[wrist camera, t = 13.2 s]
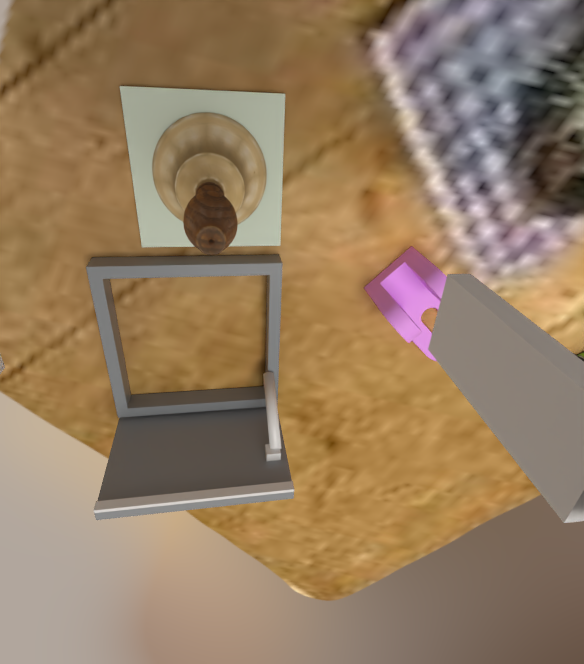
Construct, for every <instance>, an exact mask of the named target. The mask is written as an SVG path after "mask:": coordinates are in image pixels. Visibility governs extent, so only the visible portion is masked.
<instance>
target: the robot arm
mask: <svg viewBox="0 0 584 664" xmlns="http://www.w3.org/2000/svg"><path fill="white" fill-rule="evenodd" d="M428 350H429V351H430V353H431V354H432V355H433V356H434V358H435V359H436V360H437V361H438V363H439V364H440V365H441V367H442V368H443V369H444V370H445V372H446V373H447V374H448V376H449V377H450V378H451V379H452V381H453V382H454V383H455V384H456V386H457V387H458V388H459V390H460V391H461V392H462V393H463V395H464V396H465V397H466V399H467V400H468V401H469V402H470V404H471V405H472V406H473V407H474V409H475V410H476V411H477V413H478V414H479V415H480V416H481V418H482V419H483V420H484V422H485V423H486V424H487V425H488V427H489V428H490V429H491V430H492V432H493V433H494V434H495V436H496V437H497V438H498V439H499V441H500V442H501V443H502V445H503V446H504V447H505V448H506V450H507V451H508V452H509V453H510V455H511V456H512V457H513V459H514V460H515V461H516V462H517V464H518V465H519V466H520V468H521V469H522V470H523V471H524V473H525V474H526V475H527V476H528V478H529V479H530V480H531V482H532V483H533V484H534V485H535V487H536V488H537V489H538V491H539V492H540V493H541V494H542V495H543V497H544V498H545V499H546V501H547V502H548V503H549V505H550V506H551V507H552V508H553V509H554V511H555V512H556V514H557V515H558V516H559V517H560V519H561V520H562V521H563V522H564V523H569V522H577V521H584V359H583V358H581V357H579V356H577V355H576V354H574V353H572V352H571V351H569V350H568V349H567V348H565V347H564V346H563V345H562V344H560V343H559V342H558V341H556V340H555V339H554V338H553V337H551V336H550V335H549V334H547V333H546V332H545V331H544V330H542V329H541V328H540V327H538V326H537V325H536V324H534V323H533V322H532V321H531V320H529V319H528V318H527V317H525V316H524V315H523V314H522V313H520V312H519V311H518V310H516V309H515V308H514V307H513V306H511V305H510V304H509V303H507V302H506V301H505V300H504V299H502V298H501V297H500V296H498V295H497V294H496V293H495V292H493V291H492V290H491V289H489V288H488V287H487V286H485V285H484V284H483V283H482V282H480V281H479V280H478V279H476V278H475V277H474V276H473V275H471V274H448V275H447V279H446V282H445V286H444V290H443V294H442V298H441V302H440V305H439V309H438V313H437V317H436V321H435V324H434V328H433V332H432V336H431V340H430V344H429V347H428ZM4 368H5V366H4V363H3V360H2V358H1V355H0V374H1V372H2V371H3V369H4Z"/></svg>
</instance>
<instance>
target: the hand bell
mask: <svg viewBox="0 0 584 664" xmlns="http://www.w3.org/2000/svg"><path fill="white" fill-rule="evenodd" d="M152 173H153V180H154V185H155V188H156V190H157V193H158V195H159V197H160V199H161V200H162V202H163V204H164V205H165V206H166V208H167V209H168V210H169V211H170V212H171V213H172V214H173V215H174V216H175V217H177V218H178V219H179V220H181V221H182V222H183V224H184V230H185V233H186V235H187V237H188V239H189V241H190V242H191V243H192V244H193V245H194V246H195V247H196V248H198V249H199V250H200V251H201V252H203V253H204V254H208V255H217V254H219V253H220V252H222V250H224V249H225V248H227V247H228V246H229V245H230V244H231V243H232V241H233V240H234V238H235V236H236V232H237V227H238V224H240V223H241V222H243V221H245V220H246V219H247V218H248V217H249V216H250V215H251V214H252V213H253V212H254V211H255V210H256V208H257V207H258V205H259V204H260V202H261V200H262V197H263V195H264V191H265V187H266V180H267V171H266V163H265V159H264V156H263V153H262V151H261V148H260V146H259V145H258V143H257V141H256V140H255V138H254V137H253V136H252V134H251V133H250V132H249V131H248V130H247V129H246V128H245V127H244V126H242V125H241V124H240V123H238V122H237V121H235V120H233V119H231V118H229V117H227V116H224V115H221V114H217V113H209V112H205V113H194V114H190V115H188V116H185V117H182V118H180V119H179V120H177V121H176V122H174V123H173V124H172V125H171V126H170V127H169V128H168V129H167V130H166V131H165V132H164V133H163V135H162V136H161V137H160V139H159V141H158V143H157V145H156V148H155V151H154V155H153V162H152Z"/></svg>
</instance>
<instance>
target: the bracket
mask: <svg viewBox="0 0 584 664" xmlns="http://www.w3.org/2000/svg"><path fill="white" fill-rule="evenodd" d="M446 279H447V277H446V276H445V275H444V274H443V273H442V272H441V271H440V270H439V269H438V268H437V267H436V266H435V265H434V264H432V263H431V262H430V261H429V260H428V259H426V258H425V257H424V256H423V255H422V254H420V253H419V252H418V251H417V250H416V249H414V248H413V247H412V246H411V247H410V248H409V249H408V250H407V251H405V252H404V253H403V254H402V255H401V256H400V257H399V258H397V259H396V260H395V261H394V262H393V263H392V264H390V265H389V266H388V267H387V268H386V269H385V270H384V271H382V272H381V273H380V274H379V275H378V276H377V277H376V278H374V279H373V280H372V281H371V282H370V283H369V284H368V285H366V286H365V287H364V289H365V290H366V292H367V293H368V294H369V296H370V297H371V299H372V300H373V301H374V303H375V304H376V305H377V307H378V308H379V310H380V311H381V312H382V314H383V315H384V316H385V317H386V319H387V320H388V321H389V322H390V324H391V325H392V326H393V327H394V328H395V329H396V330H397V332H398V333H399V334H400V335H401V336H402V337H403V338H404V339H405V340H406V341H407V342H408V343H410V342H411V341H413V342H414V343H415V344H416V345H417V346H418V347H419V348H420V349H421V350H422V351H423V352H424V353H425V355H426V356H427V357H429V358H430V359H432V360H434V361H437V360H436V359H435V358H434V356H433V355H432V354H431V353H430V351H429V350H428V347H429V344H430V340H431V336H432V333H431V331H430V330H429V329H428V328H427V327H426V326H425V325H424V324H423V323H422V321H421V315H422V313H423V312H424V311H425V310H426V309H428V308H436V309H437V310H438V309H439V305H440V302H441V298H442V294H443V290H444V286H445V282H446Z"/></svg>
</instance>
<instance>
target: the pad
mask: <svg viewBox="0 0 584 664" xmlns="http://www.w3.org/2000/svg"><path fill="white" fill-rule="evenodd" d="M120 93H121V100H122V107H123V114H124V122H125V129H126V136H127V143H128V150H129V158H130V165H131V172H132V179H133V187H134V194H135V201H136V208H137V215H138V223H139V230H140V237H141V244H142V247H195V246H194V245H193V244H192V243H191V242H190V241H189V239H188V237H187V235H186V233H185V230H184V224H183V222H182V221H181V220H179V219H178V218H177V217H175V216H174V215H173V214H172V213H171V212H170V211H169V210H168V209H167V208H166V206H165V205H164V204H163V202H162V200H161V199H160V197H159V195H158V193H157V190H156V188H155V185H154V180H153V173H152V162H153V155H154V151H155V148H156V145H157V143H158V141H159V139H160V137H161V136H162V135H163V133H164V132H165V131H166V130H167V129H168V128H169V127H170V126H171V125H172V124H173V123H174V122H176V121H177V120H179V119H180V118H182V117H185V116H188V115H190V114H194V113H205V112H209V113H217V114H221V115H224V116H227V117H229V118H231V119H233V120H235V121H237V122H238V123H240V124H241V125H242V126H244V127H245V128H246V129H247V130H248V131H249V132H250V133H251V134H252V136H253V137H254V138H255V140H256V141H257V143H258V145H259V146H260V148H261V151H262V153H263V156H264V159H265V163H266V171H267V180H266V187H265V191H264V195H263V197H262V200H261V202H260V204H259V205H258V207H257V208H256V210H255V211H254V212H253V213H252V214H251V215H250V216H249V217H248V218H247V219H246V220H245V221H243V222H241V223H240V224H238V227H237V232H236V236H235V238H234V240H233V241H232V243H231V244H230V245H229V246H280V240H281V209H282V178H283V147H284V117H285V94H283V93H261V92H240V91H219V90H198V89H177V88H156V87H135V86H120Z"/></svg>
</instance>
